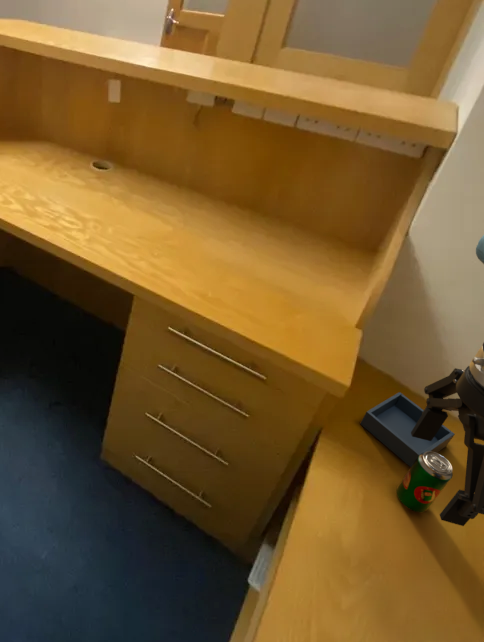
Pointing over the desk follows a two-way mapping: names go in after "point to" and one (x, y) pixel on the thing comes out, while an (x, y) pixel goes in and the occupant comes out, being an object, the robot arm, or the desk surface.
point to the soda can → (424, 481)
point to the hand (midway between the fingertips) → (434, 475)
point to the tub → (402, 428)
